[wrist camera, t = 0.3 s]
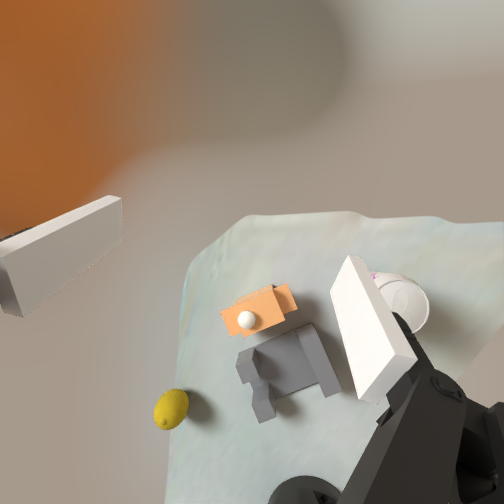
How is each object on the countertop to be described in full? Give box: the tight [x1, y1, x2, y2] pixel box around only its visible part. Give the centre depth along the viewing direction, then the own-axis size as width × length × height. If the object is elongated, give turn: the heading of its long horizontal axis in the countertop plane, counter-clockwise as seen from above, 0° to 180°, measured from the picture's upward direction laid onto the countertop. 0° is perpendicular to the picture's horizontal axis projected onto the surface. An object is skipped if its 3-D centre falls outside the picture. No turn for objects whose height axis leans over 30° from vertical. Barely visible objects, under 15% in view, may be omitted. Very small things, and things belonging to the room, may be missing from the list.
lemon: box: [154, 389, 189, 430], centre depth 43 cm, size 6×6×8 cm
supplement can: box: [369, 271, 429, 333], centre depth 38 cm, size 8×8×15 cm
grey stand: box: [236, 323, 342, 424], centre depth 43 cm, size 10×15×6 cm, turn 113°
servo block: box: [221, 283, 298, 337], centre depth 41 cm, size 5×12×10 cm, turn 113°
